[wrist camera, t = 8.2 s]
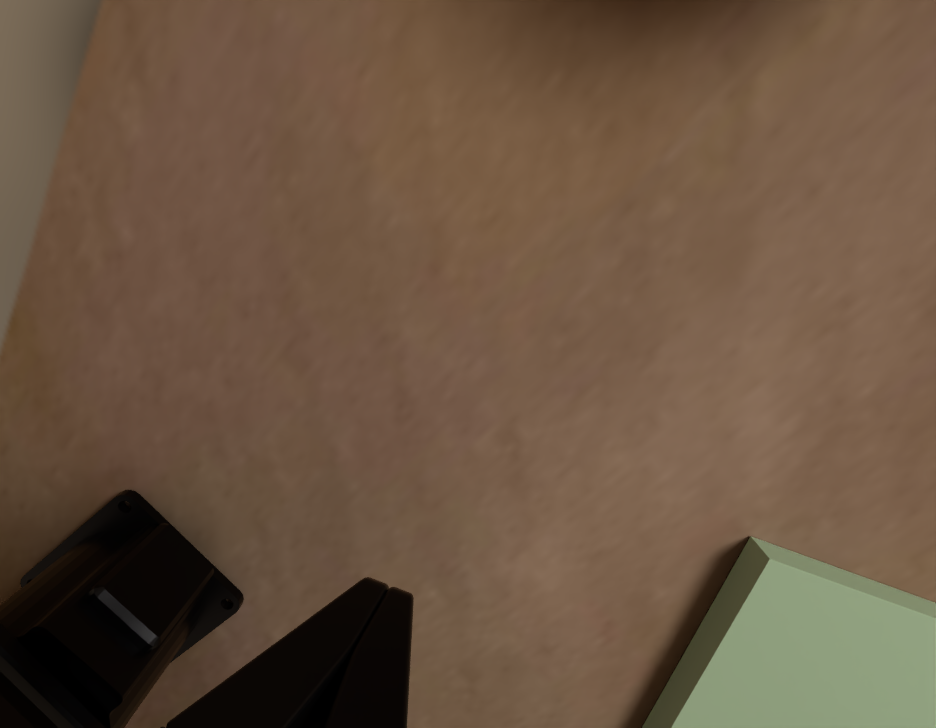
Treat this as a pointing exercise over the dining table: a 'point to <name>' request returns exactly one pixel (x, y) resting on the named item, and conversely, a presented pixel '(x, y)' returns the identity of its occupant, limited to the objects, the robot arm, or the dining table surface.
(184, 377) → the dining table surface
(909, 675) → the board
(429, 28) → the dining table surface
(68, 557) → the robot arm
